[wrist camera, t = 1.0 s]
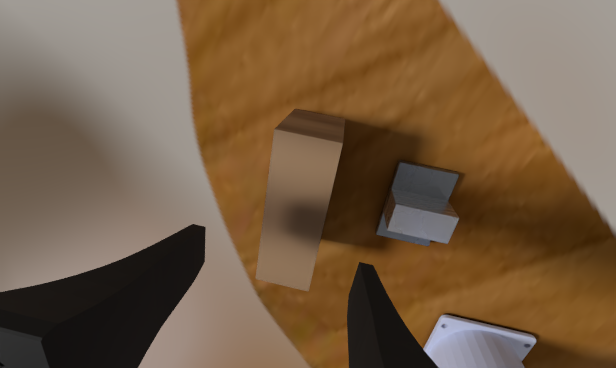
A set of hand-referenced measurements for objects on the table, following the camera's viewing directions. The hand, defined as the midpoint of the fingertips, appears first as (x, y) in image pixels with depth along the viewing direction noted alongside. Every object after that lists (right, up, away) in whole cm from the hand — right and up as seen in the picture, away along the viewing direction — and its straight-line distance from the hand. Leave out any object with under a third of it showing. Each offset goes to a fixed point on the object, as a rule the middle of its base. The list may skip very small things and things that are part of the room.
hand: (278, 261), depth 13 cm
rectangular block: (+1, +4, +9) cm, 10 cm away
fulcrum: (+9, +2, +8) cm, 12 cm away
